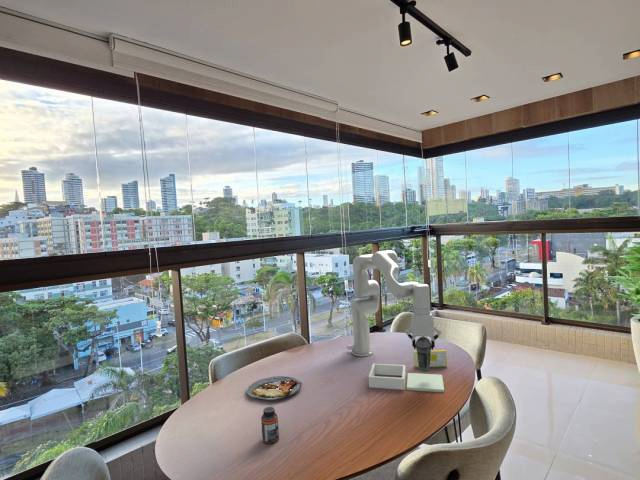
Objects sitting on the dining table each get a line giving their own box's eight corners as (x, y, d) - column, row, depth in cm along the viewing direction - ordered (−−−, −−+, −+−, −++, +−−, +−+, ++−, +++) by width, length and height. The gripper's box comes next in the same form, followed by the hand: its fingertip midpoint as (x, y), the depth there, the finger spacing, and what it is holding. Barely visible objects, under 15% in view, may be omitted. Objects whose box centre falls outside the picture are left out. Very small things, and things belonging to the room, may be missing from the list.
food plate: (309, 383, 175) (309, 376, 175) (285, 407, 154) (284, 398, 154) (266, 378, 185) (265, 371, 185) (237, 399, 164) (237, 392, 164)
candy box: (446, 365, 188) (445, 349, 188) (447, 367, 186) (446, 351, 186) (414, 365, 190) (413, 350, 190) (415, 367, 188) (414, 351, 187)
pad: (406, 389, 163) (406, 387, 163) (408, 375, 178) (407, 372, 178) (444, 392, 159) (444, 389, 159) (442, 377, 174) (442, 374, 174)
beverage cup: (432, 367, 170) (431, 325, 170) (432, 374, 164) (430, 330, 163) (417, 366, 173) (415, 325, 172) (415, 372, 166) (414, 329, 165)
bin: (369, 387, 168) (368, 376, 167) (373, 373, 183) (373, 363, 183) (404, 389, 163) (404, 378, 163) (405, 375, 179) (405, 365, 178)
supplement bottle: (263, 435, 133) (261, 405, 133) (279, 434, 133) (277, 404, 133) (261, 445, 127) (259, 414, 127) (278, 443, 128) (277, 412, 127)
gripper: (402, 312, 166) (404, 350, 167) (442, 313, 161) (443, 352, 162) (403, 308, 173) (404, 345, 174) (441, 309, 169) (442, 346, 169)
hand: (423, 348), depth 168 cm, fingers closed on beverage cup, 7 cm apart
